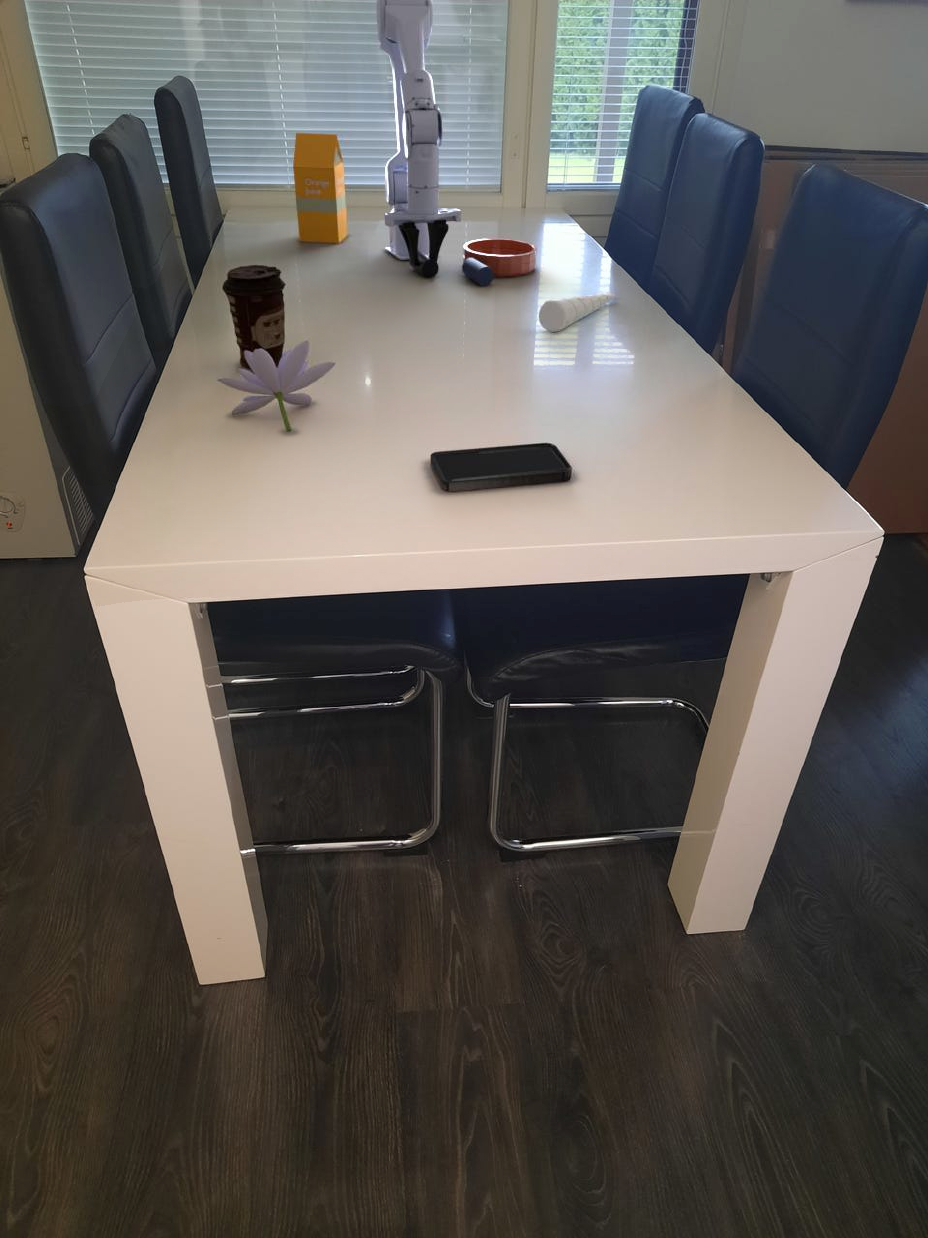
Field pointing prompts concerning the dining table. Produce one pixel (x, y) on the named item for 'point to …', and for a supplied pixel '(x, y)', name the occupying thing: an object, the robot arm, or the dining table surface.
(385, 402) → the dining table surface
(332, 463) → the dining table surface
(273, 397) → the water lily
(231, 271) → the coffee cup
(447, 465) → the phone
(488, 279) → the navy tube
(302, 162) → the orange juice
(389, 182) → the robot arm
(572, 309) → the unicorn horn
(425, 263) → the black cylinder
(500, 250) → the bowl
